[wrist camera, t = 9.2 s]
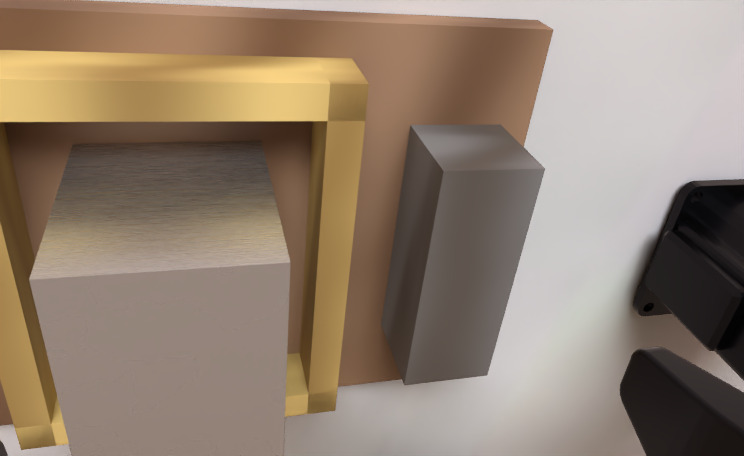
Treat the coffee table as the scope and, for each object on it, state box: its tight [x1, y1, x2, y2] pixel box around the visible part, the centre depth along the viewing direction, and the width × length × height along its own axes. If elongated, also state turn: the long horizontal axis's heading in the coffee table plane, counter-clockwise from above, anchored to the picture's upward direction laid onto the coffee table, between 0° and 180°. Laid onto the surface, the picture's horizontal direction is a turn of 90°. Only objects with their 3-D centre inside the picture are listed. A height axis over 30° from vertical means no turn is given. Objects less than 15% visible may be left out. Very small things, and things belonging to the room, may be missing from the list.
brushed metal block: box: [29, 141, 290, 456], centre depth 17 cm, size 5×7×6 cm
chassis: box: [0, 0, 553, 450], centre depth 19 cm, size 18×14×4 cm
